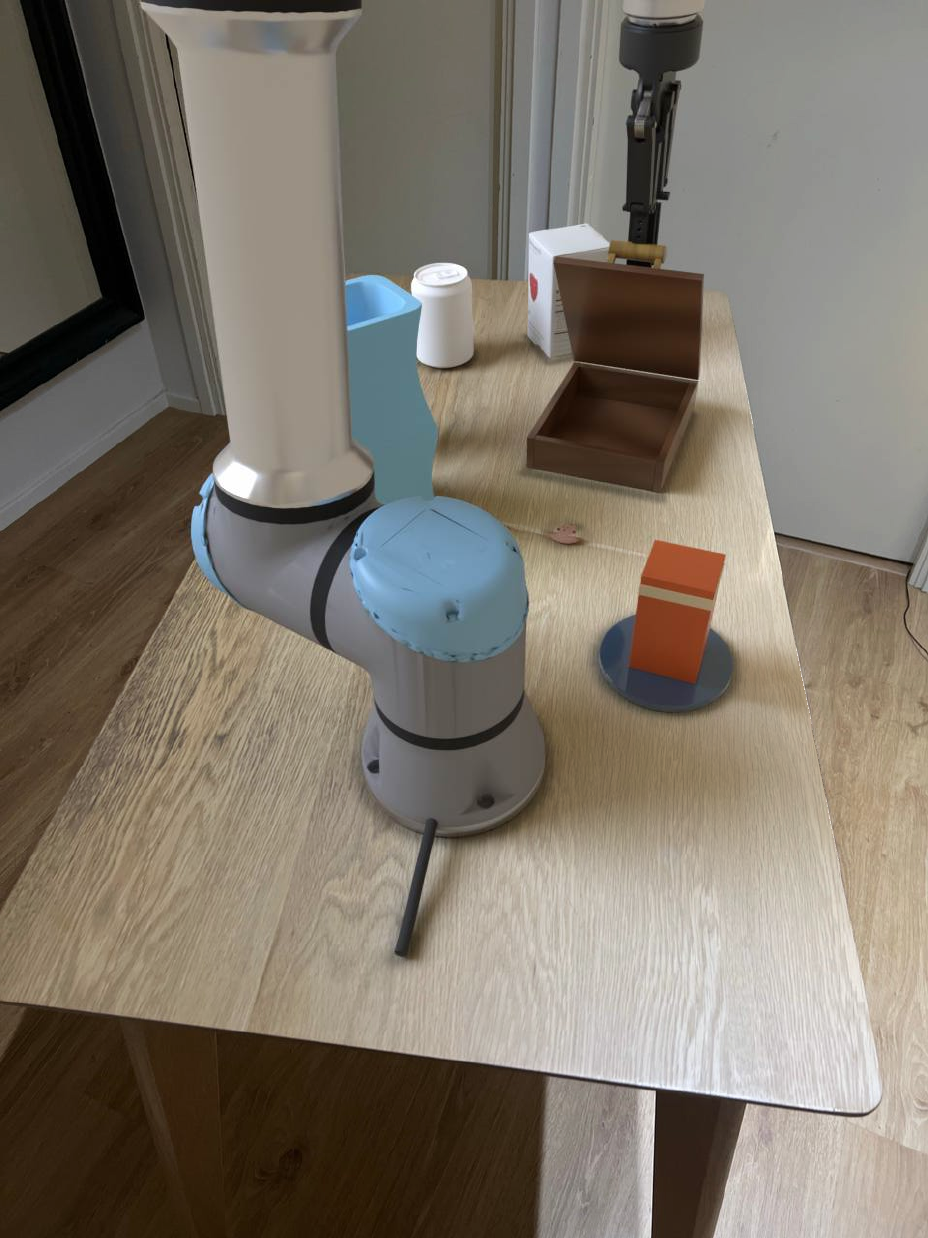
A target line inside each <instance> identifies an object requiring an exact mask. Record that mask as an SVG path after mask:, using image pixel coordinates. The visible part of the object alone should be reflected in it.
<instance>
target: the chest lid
mask: <svg viewBox="0 0 928 1238" xmlns="http://www.w3.org/2000/svg"><path fill="white" fill-rule="evenodd" d="M609 243H610V245H609V250H608V256H609V257H608V260H607V262H599V261H591V260H582V259H574V258H566V257H557V256H555V259H554V262H553V263H554V268H555V272H556V277H557V282H558V287H559V292H560V297H561V301H562V306H563V311H564V316H565V321H566V326H567V330H568V335H569V340H570V345H571V350H572V354H571V355H572V360H573V361H574V362H578V363H584V364H591V365H597V366H604V367H610V368H617V369H623V370H630V371H636V372H643V373H649V374H656V375H662V376H669V377H675V378H681V379H688V380H694V381H699V379H700V376H701V359H702V358H701V357H702V356H701V355H702V331H703V307H704V285H705V284H704V283H705V273H698V272H690V271H681V270H673V269H666V268H662V264H665V262H666V260H667V254H668V246H667V245H663V244H657V245H656V244H647V243H646V244H645V245H643V244H634V243H632V242H629V241H628V240H620V239H611V240H610V241H609ZM617 259H619V260H626V261H627V260H635V261H644V262H652V263H654V265H652V268H650V267H641V266H633V265H626V264H624V263H616V260H617Z"/></svg>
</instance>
